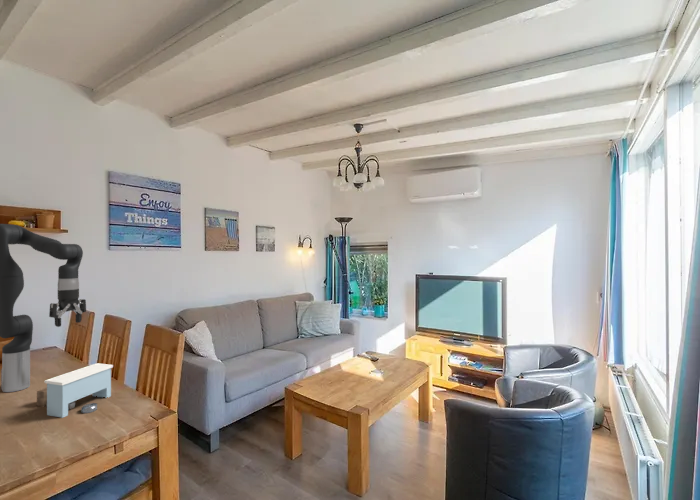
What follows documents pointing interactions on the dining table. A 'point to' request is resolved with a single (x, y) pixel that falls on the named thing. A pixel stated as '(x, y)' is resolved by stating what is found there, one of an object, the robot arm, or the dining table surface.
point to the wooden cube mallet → (43, 398)
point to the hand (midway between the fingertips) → (68, 324)
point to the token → (89, 408)
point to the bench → (77, 387)
